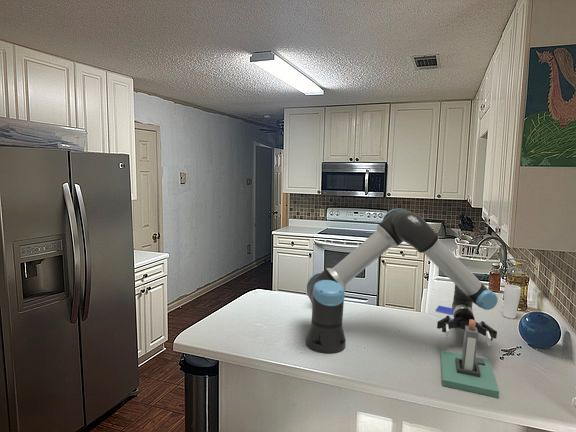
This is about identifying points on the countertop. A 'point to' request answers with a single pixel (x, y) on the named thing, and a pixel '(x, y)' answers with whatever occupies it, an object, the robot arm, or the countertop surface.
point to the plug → (469, 346)
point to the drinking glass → (511, 300)
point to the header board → (468, 375)
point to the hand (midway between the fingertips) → (468, 338)
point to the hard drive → (444, 310)
